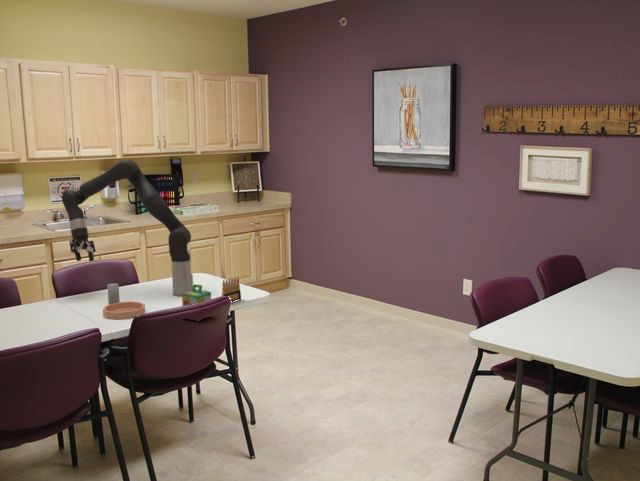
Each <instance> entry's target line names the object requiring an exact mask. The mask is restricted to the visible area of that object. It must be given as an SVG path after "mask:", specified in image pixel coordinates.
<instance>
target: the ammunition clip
mask: <svg viewBox="0 0 640 481" xmlns="http://www.w3.org/2000/svg"><path fill="white" fill-rule="evenodd" d="M221 286H222V288H221V291H222V292H221V297H222V296H229V297H230V298H231V301H232V302H233V301H235V300H238V299H241V300H242V293H241V284H240V278H239V275H238V276H235V277H234V278H233V277H231V279H230V278H228V279H227V278H226V279H223V280H222V285H221ZM233 303H234V302H233Z"/></svg>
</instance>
